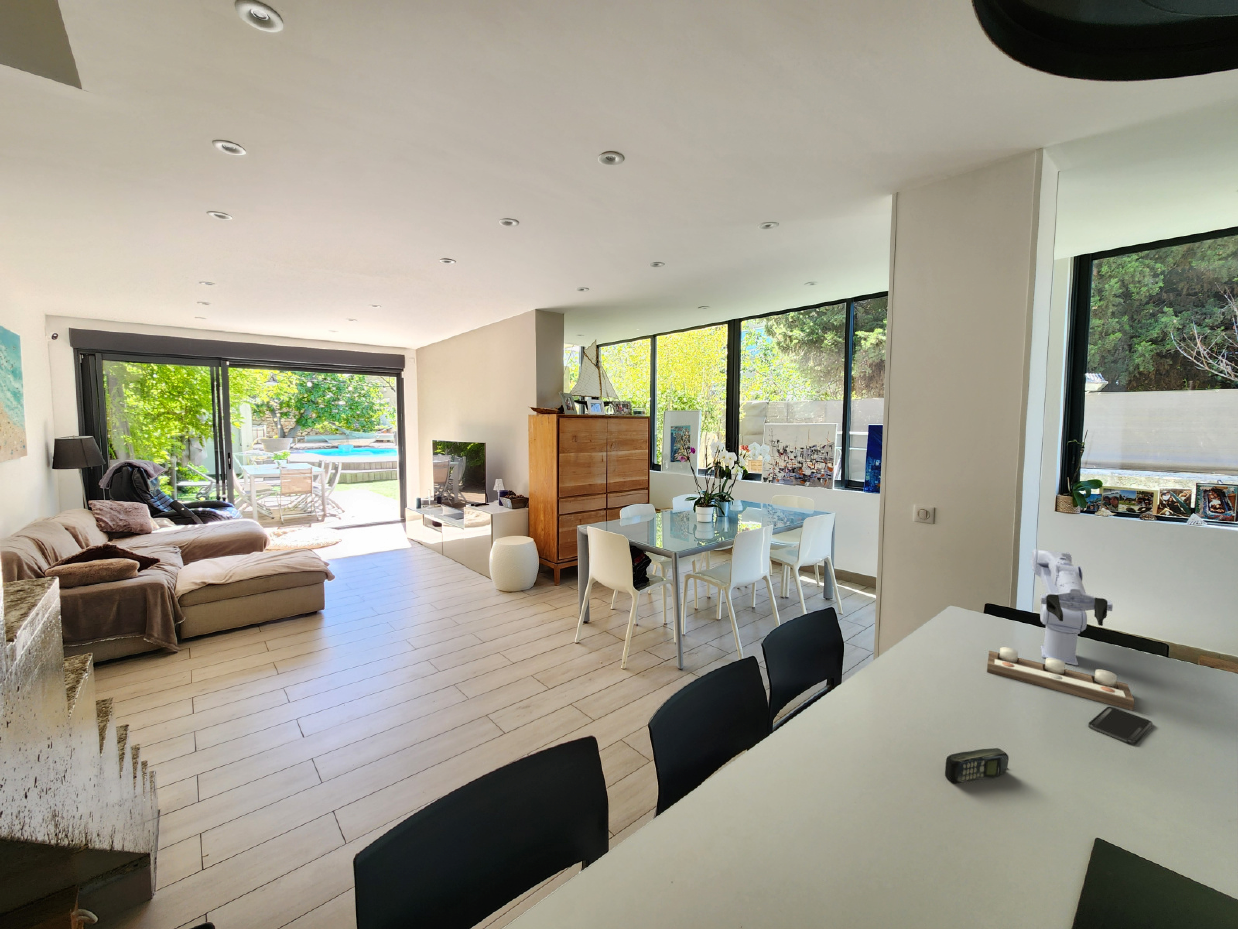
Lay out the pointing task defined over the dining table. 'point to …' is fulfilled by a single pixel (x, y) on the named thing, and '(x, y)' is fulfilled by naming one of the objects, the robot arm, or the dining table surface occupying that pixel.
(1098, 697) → the button board
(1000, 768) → the mobile phone
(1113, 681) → the end button
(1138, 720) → the phone
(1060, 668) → the middle button
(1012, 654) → the end button
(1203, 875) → the dining table surface
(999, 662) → the pattern card
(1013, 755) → the dining table surface
